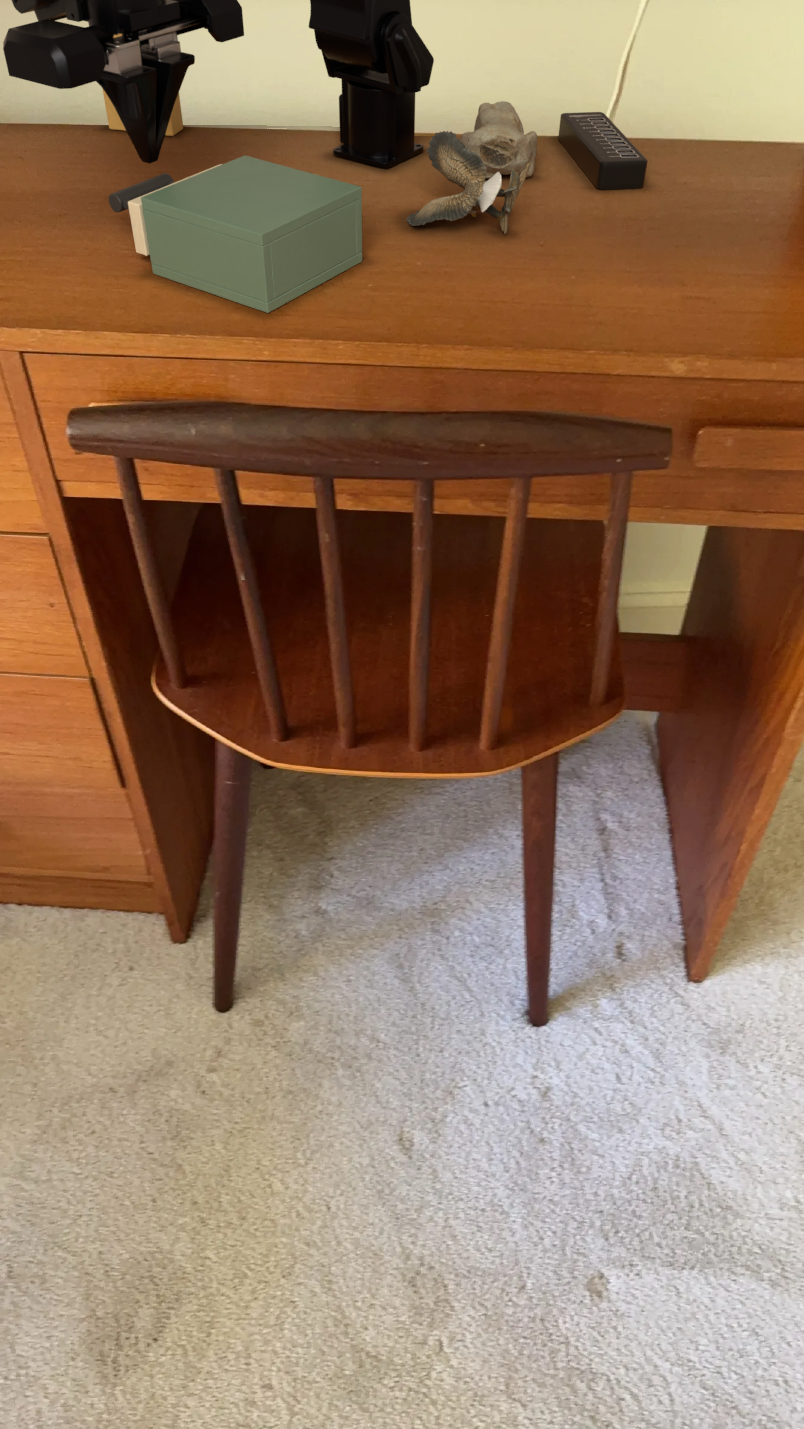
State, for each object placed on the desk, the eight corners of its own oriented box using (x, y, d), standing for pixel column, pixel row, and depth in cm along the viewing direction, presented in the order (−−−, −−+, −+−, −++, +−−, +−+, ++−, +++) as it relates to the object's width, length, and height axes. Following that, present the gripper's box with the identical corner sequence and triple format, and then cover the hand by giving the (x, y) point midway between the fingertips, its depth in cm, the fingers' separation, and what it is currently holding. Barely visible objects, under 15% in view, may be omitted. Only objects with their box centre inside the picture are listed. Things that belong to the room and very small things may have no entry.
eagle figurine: (526, 196, 89) (428, 162, 90) (536, 136, 82) (430, 100, 83) (495, 271, 88) (396, 237, 89) (502, 217, 81) (395, 180, 82)
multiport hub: (597, 189, 94) (601, 162, 92) (557, 138, 104) (559, 112, 102) (644, 187, 94) (649, 160, 93) (599, 136, 104) (603, 110, 103)
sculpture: (453, 144, 104) (458, 185, 93) (458, 90, 101) (464, 125, 90) (523, 150, 105) (537, 191, 93) (530, 96, 102) (546, 131, 90)
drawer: (93, 238, 82) (83, 187, 80) (184, 199, 88) (177, 151, 86) (237, 287, 76) (232, 233, 74) (324, 242, 82) (322, 191, 80)
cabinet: (152, 273, 80) (140, 197, 76) (251, 227, 87) (244, 154, 83) (268, 313, 75) (261, 234, 71) (362, 261, 82) (361, 186, 78)
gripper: (127, -117, 79) (159, 112, 90) (-80, -83, 68) (-15, 172, 79) (238, -101, 74) (257, 138, 85) (35, -63, 64) (87, 205, 75)
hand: (149, 161), depth 81 cm, fingers closed
